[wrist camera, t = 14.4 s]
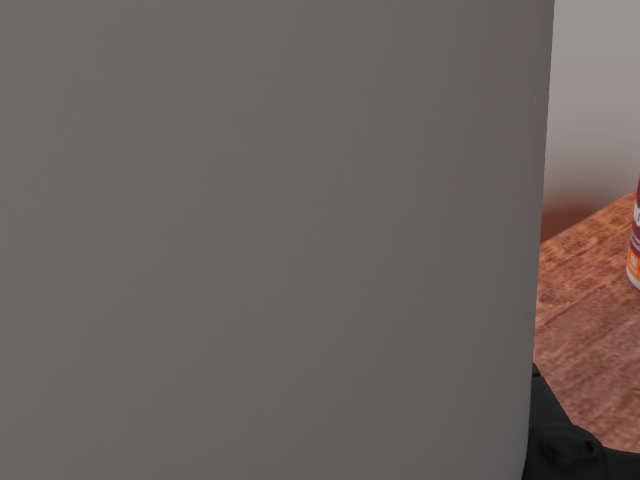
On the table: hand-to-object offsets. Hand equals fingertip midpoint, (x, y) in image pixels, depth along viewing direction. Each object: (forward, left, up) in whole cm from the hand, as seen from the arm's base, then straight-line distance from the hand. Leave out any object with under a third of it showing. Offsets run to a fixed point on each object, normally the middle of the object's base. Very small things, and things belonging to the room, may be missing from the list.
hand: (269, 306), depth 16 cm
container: (-1, -5, -11) cm, 12 cm away
